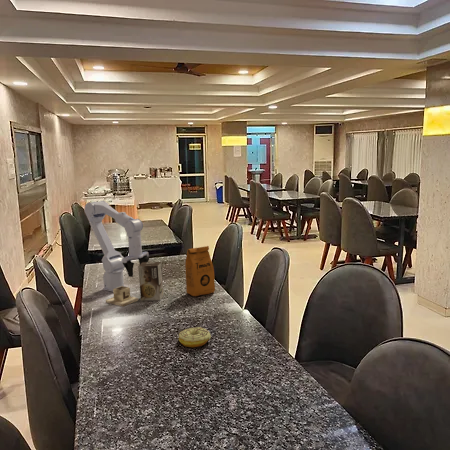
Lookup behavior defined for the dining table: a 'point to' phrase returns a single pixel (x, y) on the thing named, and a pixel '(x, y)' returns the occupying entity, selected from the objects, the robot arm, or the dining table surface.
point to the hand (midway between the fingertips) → (136, 274)
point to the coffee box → (150, 281)
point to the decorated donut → (194, 337)
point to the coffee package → (199, 272)
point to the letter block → (121, 293)
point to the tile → (124, 303)
